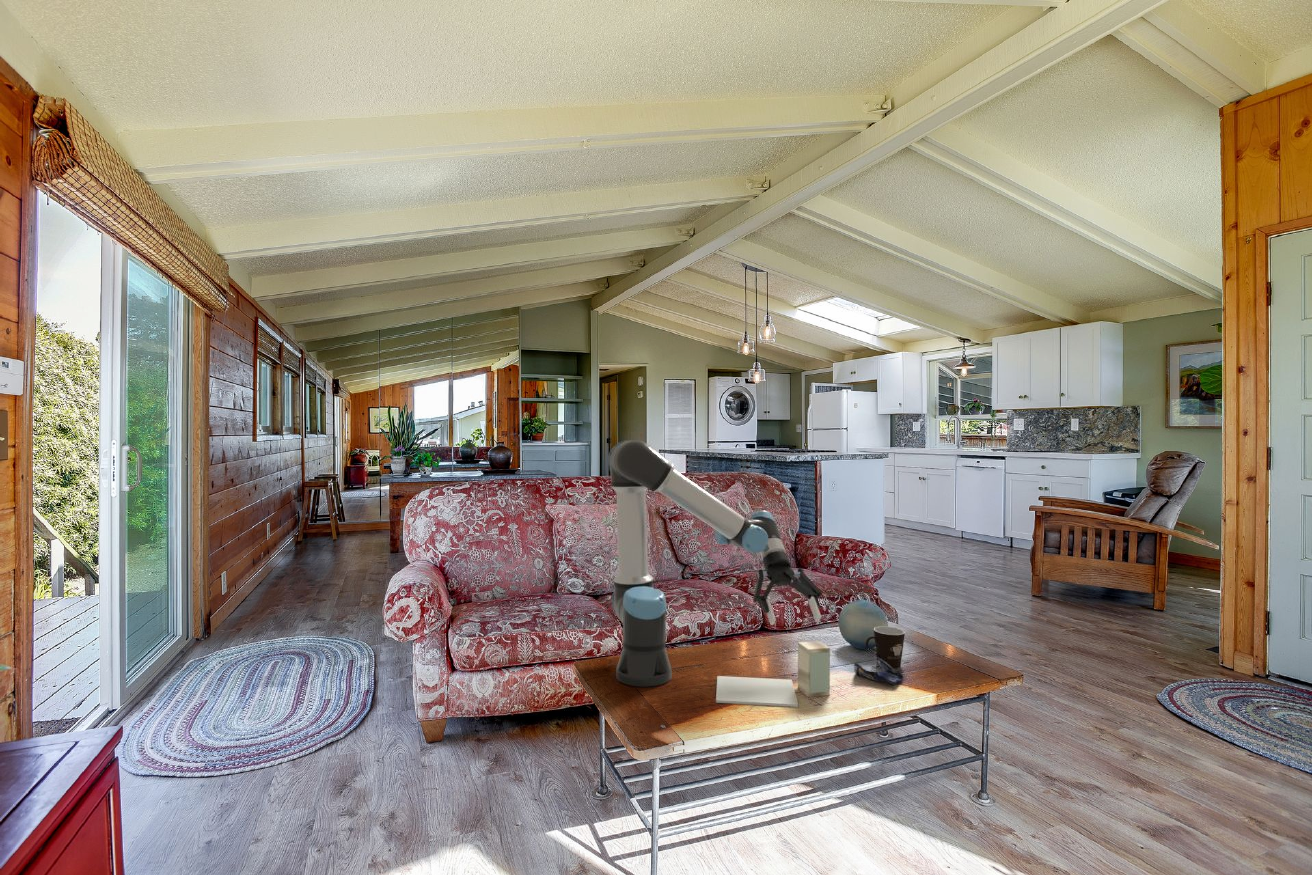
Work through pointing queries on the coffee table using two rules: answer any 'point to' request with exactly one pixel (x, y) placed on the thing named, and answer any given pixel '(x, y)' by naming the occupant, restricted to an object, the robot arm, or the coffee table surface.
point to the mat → (756, 691)
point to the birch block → (813, 668)
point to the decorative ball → (861, 623)
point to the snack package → (880, 673)
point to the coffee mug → (888, 645)
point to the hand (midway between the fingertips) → (796, 621)
